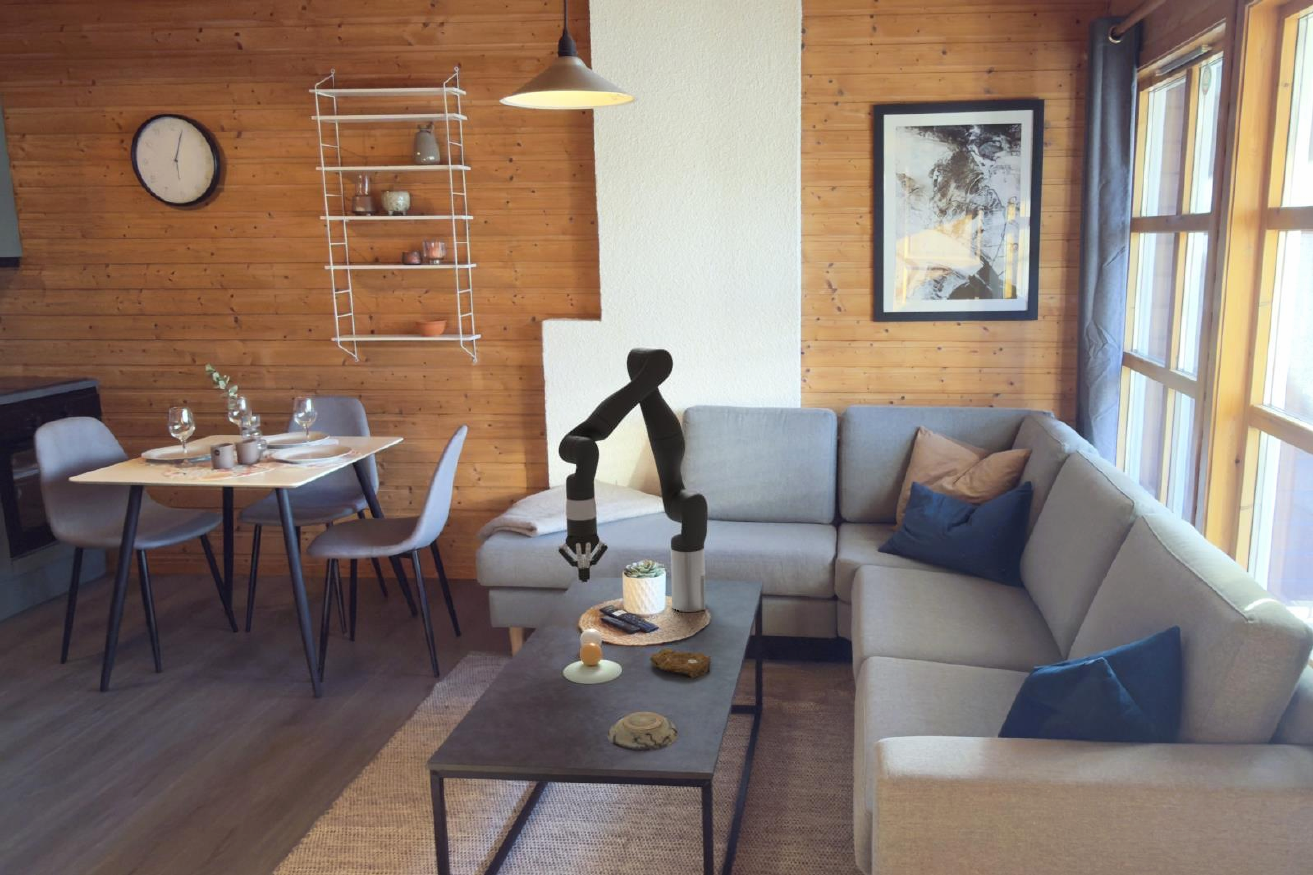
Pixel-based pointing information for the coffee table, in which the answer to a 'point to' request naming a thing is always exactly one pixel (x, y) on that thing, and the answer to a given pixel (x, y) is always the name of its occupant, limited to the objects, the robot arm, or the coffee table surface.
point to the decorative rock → (682, 662)
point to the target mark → (592, 672)
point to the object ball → (590, 654)
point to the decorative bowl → (643, 732)
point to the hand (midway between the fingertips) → (584, 581)
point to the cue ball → (590, 637)
